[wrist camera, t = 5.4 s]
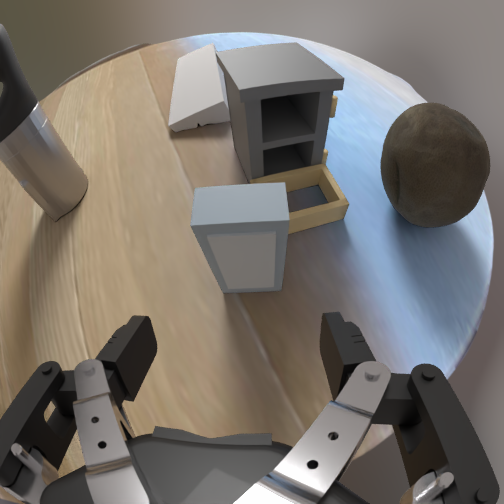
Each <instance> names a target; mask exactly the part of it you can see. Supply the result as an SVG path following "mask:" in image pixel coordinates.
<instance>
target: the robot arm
mask: <svg viewBox="0 0 504 504" xmlns="http://www.w3.org/2000/svg"><path fill="white" fill-rule="evenodd" d="M0 82H2V83H3V86H4V87H3V91H2V94H1V97H0V160H1V161H2V162H3V163H4V165H5V166H6V167H7V168H8V170H9V171H10V172H11V173H12V174H13V176H14V177H15V178H16V179H17V180H18V182H19V183H20V185H21V186H22V187H23V188H24V190H25V191H26V192H27V193H28V194H29V195H30V196H31V197H32V198H33V199H34V200H35V202H36V203H37V204H38V205H39V206H40V207H41V208H42V209H43V210H44V211H45V212H46V213H47V214H48V215H49V216H50V217H51V218H52V219H53V220H54V221H55V222H56V221H57V220H58V219H59V218H60V217H61V216H63V215H64V214H66V213H68V212H69V211H71V210H72V209H73V208H74V207H75V206H76V205H77V204H78V203H79V201H80V200H81V199H82V197H83V195H84V194H85V192H86V189H87V185H88V179H87V177H86V175H85V174H84V172H83V170H82V169H81V168H80V167H79V165H78V164H77V162H76V161H75V159H74V158H73V156H72V155H71V153H70V152H69V150H68V149H67V147H66V146H65V144H64V143H63V141H62V140H61V138H60V136H59V135H58V133H57V132H56V130H55V128H54V127H53V125H52V124H51V122H50V120H49V119H48V117H47V115H46V114H45V112H44V110H43V108H42V107H41V105H40V103H39V101H38V100H37V98H36V96H35V95H34V93H33V91H32V89H31V88H30V86H29V84H28V82H27V80H26V78H25V76H24V74H23V72H22V70H21V68H20V65H19V63H18V60H17V58H16V55H15V52H14V49H13V47H12V44H11V41H10V39H9V36H8V33H7V32H6V30H5V28H4V26H3V25H2V24H0ZM156 353H157V341H156V338H155V334H154V331H153V327H152V323H151V320H150V318H149V317H148V316H135V315H134V316H132V318H131V319H130V320H129V322H128V323H127V324H126V325H123V326H122V327H120V328H119V329H117V330H116V331H115V333H114V334H113V335H112V338H110V339H109V341H108V343H106V345H105V346H104V347H103V349H102V350H101V351H100V353H99V354H98V355H97V357H96V358H95V359H88V360H85V361H83V362H81V363H79V364H78V365H77V366H76V368H75V370H70V371H62V369H61V367H60V365H59V364H58V363H57V362H55V361H49V362H45V363H43V364H42V365H40V366H39V367H38V368H37V370H36V371H35V372H34V373H33V375H32V376H31V377H30V379H29V380H28V381H27V383H26V384H25V385H24V387H23V388H22V389H21V391H20V392H19V393H18V395H17V396H16V398H15V399H14V400H13V402H12V403H11V405H10V406H9V408H8V409H7V410H6V412H5V413H4V415H3V416H2V418H1V419H0V486H1V487H2V488H3V489H4V490H6V491H7V492H8V493H10V494H11V495H12V496H14V497H15V498H17V499H18V500H20V501H22V502H23V503H25V504H370V503H368V502H366V501H365V500H364V499H362V498H361V497H359V496H358V495H356V494H355V493H354V492H352V491H351V490H349V489H348V488H347V487H345V486H344V485H343V484H341V483H340V482H339V480H340V478H341V477H342V475H343V474H344V472H345V471H346V469H347V467H348V466H349V464H350V462H351V461H352V459H353V457H354V456H355V454H356V452H357V450H358V449H359V447H360V445H361V443H362V442H363V440H364V438H365V436H366V434H367V432H368V430H369V429H370V427H371V425H372V424H389V425H392V426H393V429H394V432H395V435H396V438H397V442H398V445H399V448H400V452H401V455H402V459H403V462H404V466H405V470H406V473H407V477H408V481H409V485H410V488H409V489H408V490H407V491H406V492H405V493H404V495H403V496H402V498H401V500H400V504H496V502H497V500H498V498H499V491H500V490H499V485H498V482H497V480H496V477H495V474H494V472H493V469H492V467H491V465H490V462H489V460H488V458H487V456H486V453H485V451H484V449H483V446H482V444H481V442H480V440H479V438H478V436H477V434H476V432H475V430H474V428H473V426H472V424H471V422H470V420H469V418H468V416H467V414H466V413H465V411H464V409H463V407H462V405H461V403H460V402H459V400H458V398H457V396H456V394H455V393H454V391H453V389H452V388H451V386H450V384H449V383H448V381H447V379H446V377H445V376H444V374H443V372H442V371H441V370H440V369H439V368H438V367H436V366H434V365H431V364H420V365H417V366H416V367H414V368H413V370H412V372H411V374H396V373H391V372H390V370H389V368H388V367H387V366H386V365H384V364H382V363H380V362H376V360H375V358H374V356H373V354H372V352H371V350H370V348H369V346H368V344H367V342H365V338H364V337H363V336H362V333H361V331H360V329H359V327H357V326H356V325H355V324H353V323H352V322H344V320H343V318H342V316H341V314H340V312H332V313H323V315H322V323H321V334H320V353H321V357H322V360H323V364H324V368H325V371H326V375H327V379H328V382H329V386H330V390H331V394H332V397H333V401H332V400H331V401H330V402H329V403H328V404H327V405H326V407H325V408H324V409H323V411H322V412H321V413H320V415H319V416H318V417H317V419H316V420H315V421H314V423H313V424H312V425H311V427H310V428H309V429H308V430H307V432H306V433H305V434H304V435H303V437H302V438H301V439H300V440H299V441H298V443H297V444H296V445H295V446H294V447H292V446H289V445H286V444H283V443H279V442H274V441H272V434H271V433H267V434H237V435H231V436H225V437H218V438H206V437H202V436H199V435H196V434H193V433H190V432H187V431H184V430H179V429H171V428H164V427H158V426H155V429H154V432H153V434H145V435H141V436H137V437H136V436H135V434H134V431H133V429H132V427H131V424H130V422H129V419H128V417H127V414H126V412H125V409H124V407H123V405H122V403H123V401H124V400H127V401H133V402H134V400H135V397H136V395H137V393H138V391H139V389H140V387H141V385H142V383H143V381H144V378H145V376H146V374H147V372H148V370H149V368H150V366H151V364H152V362H153V360H154V358H155V356H156ZM50 401H52V402H53V404H54V405H55V407H56V408H55V409H54V411H53V413H52V415H51V416H50V418H49V420H48V421H47V423H46V421H45V419H44V411H45V410H46V408H47V406H48V405H49V403H50ZM76 430H78V435H79V440H80V444H81V448H82V453H83V456H84V460H85V464H86V465H84V466H82V467H81V468H79V469H77V470H75V471H73V472H71V473H69V474H67V475H65V476H63V477H61V478H59V479H58V477H59V476H58V470H59V467H60V465H61V463H62V460H63V458H64V456H65V454H66V451H67V449H68V447H69V445H70V443H71V441H72V438H73V436H74V434H75V432H76Z"/></svg>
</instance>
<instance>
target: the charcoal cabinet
mask: <svg viewBox="0 0 504 504" xmlns="http://www.w3.org/2000/svg"><path fill="white" fill-rule="evenodd" d="M216 58H217V63H218V64H219V66H220V68H221V69H222V71H223V73H224V80H225V87H226V94H227V101H228V108H229V115H230V122H231V128H232V135H233V142H234V147H235V149H236V152H237V155H238V157H239V160H240V162H241V165H242V167H243V170H244V172H245V175H246V177H247V180H248V183H249V184H259V183H283V182H285V186H286V192H290V191H294V190H298V189H303V188H307V187H311V186H315V185H319V187H320V189H321V190H322V192H323V194H324V196H325V197H326V199H327V201H328V203H326V204H322V205H318V206H314V207H310V208H306V209H303V210H299V211H295V212H291V213H289V219H290V221H289V231H288V234H291V233H295V232H298V231H302V230H305V229H309V228H313V227H316V226H320V225H323V224H327V223H330V222H334V221H338V220H341V219H344V216H345V214H346V211H347V209H348V206H349V203H348V201H347V199H346V197H345V196H344V194H343V192H342V191H341V189H340V187H339V186H338V184H337V182H336V181H335V179H334V178H333V176H332V174H331V173H330V171H329V170H328V168H327V166H326V160H327V155H328V151H327V150H326V149H324V147H325V141H326V136H327V130H328V124H329V117H330V118H333V117H335V111H336V105H337V99H338V98H337V97H336V96H334V95H333V91H337V90H343V84H344V78H343V77H342V76H341V75H340V74H338V73H337V72H336V71H335V70H333V69H332V68H331V67H330V66H328V65H327V64H326V63H324V62H323V61H322V60H321V59H319V58H318V57H316V56H315V55H314V54H312V53H311V52H310V51H308V50H307V49H305V48H304V47H302V46H301V45H299V44H298V43H280V44H269V45H259V46H251V47H244V48H237V49H231V50H225V51H220V52H216Z"/></svg>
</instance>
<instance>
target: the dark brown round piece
mask: <svg viewBox="0 0 504 504" xmlns="http://www.w3.org/2000/svg"><path fill="white" fill-rule="evenodd" d="M489 173H490V156H489V151H488V147H487V144H486V141H485V139H484V138H483V136H482V134H481V133H480V132H479V130H478V129H477V128H476V127H475V125H474V124H473V123H472V122H471V121H469V120H468V119H467V118H466V117H465V116H464V115H463V114H461V113H459V112H458V111H456V110H453V109H450V108H449V107H447V106H445V105H442V104H438V103H422V104H418V105H414V106H412V107H410V108H409V109H407V110H406V111H404V112H403V113H402V114H401V115H400V116H399V117H398V118H397V119H396V120H395V121H394V123H393V124H392V126H391V127H390V129H389V131H388V133H387V136H386V138H385V141H384V145H383V151H382V157H381V176H382V181H383V185H384V189H385V191H386V194H387V196H388V198H389V200H390V202H391V204H392V205H393V207H394V208H395V209H396V210H397V211H398V212H399V213H400V214H401V215H402V216H403V217H404V218H405V219H406V220H407V221H408V222H410V223H412V224H414V225H417V226H421V227H441V226H446V225H449V224H452V223H455V222H457V221H459V220H460V219H462V218H463V217H465V216H466V215H468V214H469V213H470V212H471V211H472V210H473V209H474V207H475V206H476V205H477V203H478V201H479V199H480V197H481V195H482V192H483V189H484V186H485V183H486V181H487V179H488V176H489Z"/></svg>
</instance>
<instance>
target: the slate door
mask: <svg viewBox="0 0 504 504" xmlns="http://www.w3.org/2000/svg"><path fill="white" fill-rule="evenodd" d="M289 221H290V219H289V210H288V202H287V194H286V186H285V182H283V183H259V184H241V185H226V186H213V187H201V188H195V192H194V200H193V208H192V216H191V225H190V226H191V228H192V230H193V232H194V234H195V236H196V238H197V241H198V243H199V245H200V247H201V249H202V251H203V253H204V255H205V257H206V259H207V261H208V264H209V266H210V268H211V270H212V272H213V274H214V276H215V278H216V280H217V282H218V284H219V286H220V288H221V290H222V292H223V293H242V292H267V291H281V290H282V282H283V274H284V266H285V257H286V249H287V240H288V231H289Z"/></svg>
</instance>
